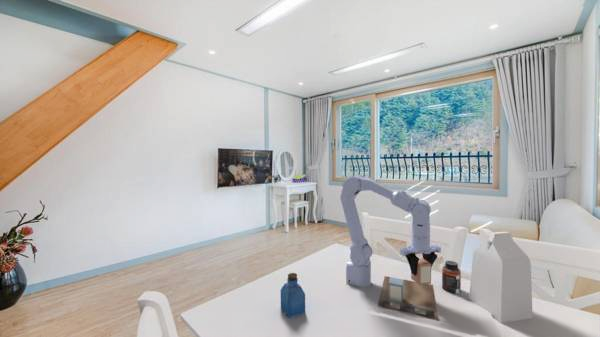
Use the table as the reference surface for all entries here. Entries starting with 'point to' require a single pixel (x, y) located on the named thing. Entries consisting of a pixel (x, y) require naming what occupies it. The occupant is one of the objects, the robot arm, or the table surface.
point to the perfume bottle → (292, 296)
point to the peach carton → (422, 273)
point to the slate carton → (396, 289)
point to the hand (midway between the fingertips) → (420, 273)
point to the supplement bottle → (451, 277)
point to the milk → (502, 279)
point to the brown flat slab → (411, 299)
